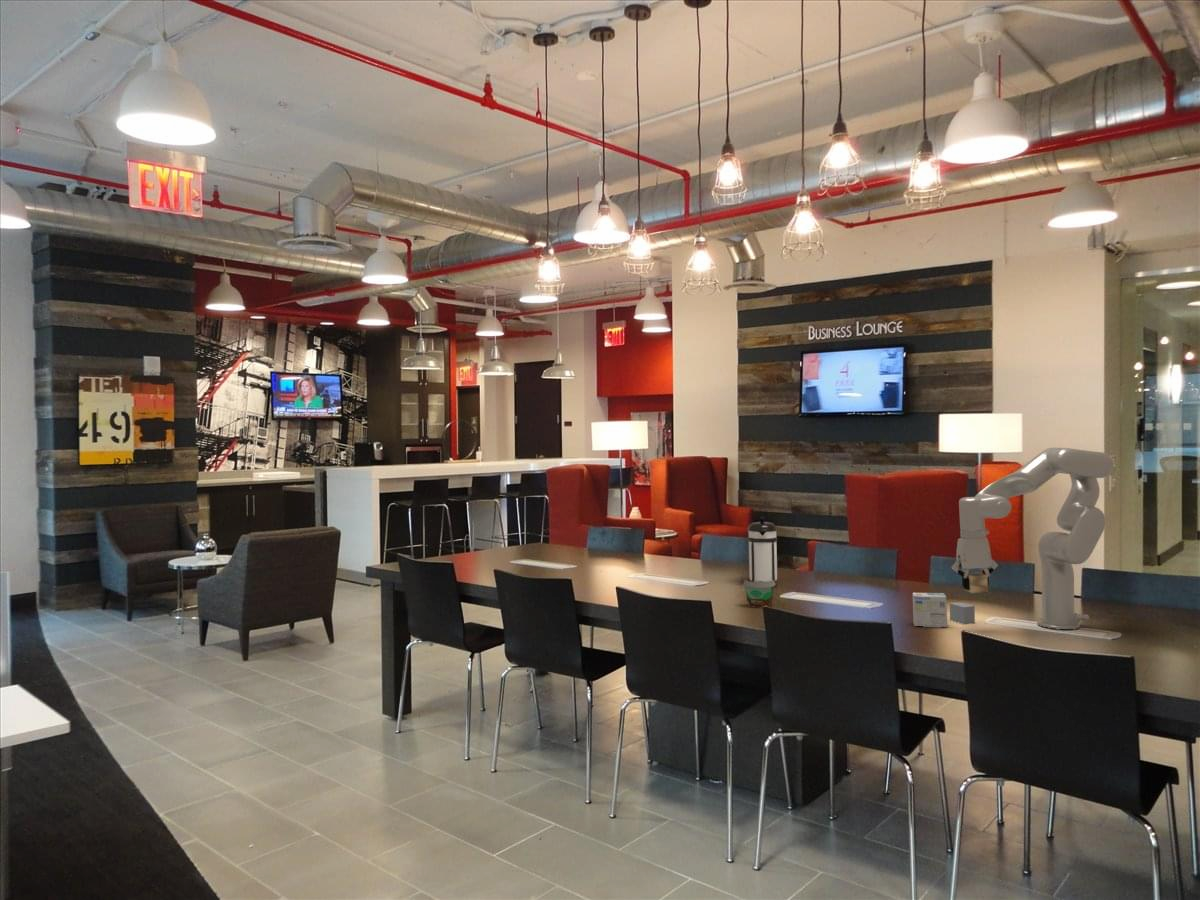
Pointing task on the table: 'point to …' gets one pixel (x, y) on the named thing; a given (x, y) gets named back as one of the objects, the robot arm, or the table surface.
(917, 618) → the light bulb box
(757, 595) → the food container
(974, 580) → the oak cube
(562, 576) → the table surface
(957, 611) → the slate block
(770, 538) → the coffee press
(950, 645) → the table surface
